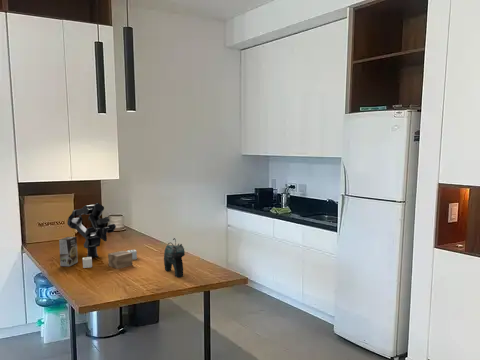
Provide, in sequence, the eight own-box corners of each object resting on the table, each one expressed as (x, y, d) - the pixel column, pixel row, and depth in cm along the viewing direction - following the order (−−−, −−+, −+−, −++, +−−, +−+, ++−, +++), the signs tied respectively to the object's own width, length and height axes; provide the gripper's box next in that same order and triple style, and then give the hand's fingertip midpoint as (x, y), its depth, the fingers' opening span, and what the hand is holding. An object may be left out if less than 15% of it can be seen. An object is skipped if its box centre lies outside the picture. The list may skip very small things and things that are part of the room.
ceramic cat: (186, 277, 235) (185, 240, 234) (175, 279, 232) (174, 241, 230) (171, 268, 252) (170, 234, 250) (160, 270, 249) (159, 235, 247)
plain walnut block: (108, 266, 261) (108, 253, 261) (123, 262, 268) (122, 250, 268) (117, 269, 254) (117, 256, 254) (132, 265, 261) (132, 253, 261)
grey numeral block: (127, 258, 278) (127, 250, 278) (135, 257, 280) (135, 249, 280) (128, 260, 274) (128, 251, 273) (136, 259, 276) (136, 251, 275)
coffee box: (69, 266, 261) (68, 239, 260) (60, 266, 263) (58, 239, 261) (78, 262, 270) (77, 236, 269) (68, 262, 272) (67, 236, 270)
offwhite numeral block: (82, 266, 262) (82, 257, 262) (91, 265, 264) (91, 256, 264) (83, 268, 258) (82, 259, 257) (92, 267, 259) (91, 258, 259)
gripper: (86, 215, 267) (96, 235, 260) (113, 211, 280) (124, 230, 274) (80, 226, 273) (90, 246, 266) (107, 222, 286) (117, 241, 280)
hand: (106, 240), depth 271 cm, fingers closed
